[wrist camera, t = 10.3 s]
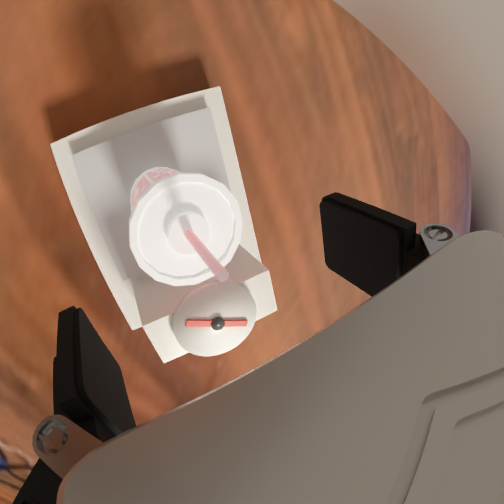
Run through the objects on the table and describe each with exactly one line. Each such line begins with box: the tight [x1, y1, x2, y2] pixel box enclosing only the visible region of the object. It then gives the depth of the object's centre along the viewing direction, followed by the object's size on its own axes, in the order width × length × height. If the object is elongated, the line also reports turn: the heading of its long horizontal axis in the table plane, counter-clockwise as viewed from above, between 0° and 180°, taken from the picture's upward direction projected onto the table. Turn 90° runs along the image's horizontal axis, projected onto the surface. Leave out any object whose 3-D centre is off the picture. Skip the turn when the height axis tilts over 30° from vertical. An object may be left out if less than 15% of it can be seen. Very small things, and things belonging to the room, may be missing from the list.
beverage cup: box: [129, 167, 243, 286], centre depth 17 cm, size 6×6×14 cm
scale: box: [50, 86, 277, 363], centre depth 23 cm, size 19×14×10 cm
